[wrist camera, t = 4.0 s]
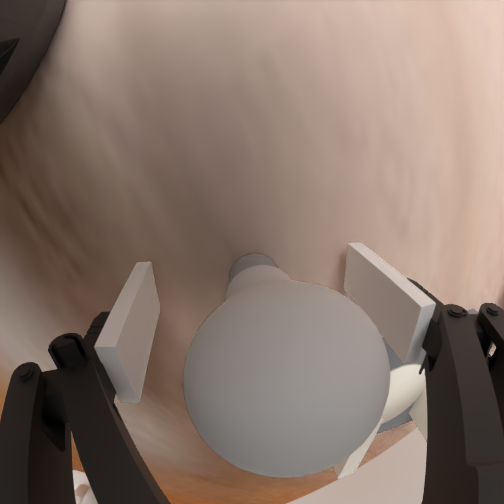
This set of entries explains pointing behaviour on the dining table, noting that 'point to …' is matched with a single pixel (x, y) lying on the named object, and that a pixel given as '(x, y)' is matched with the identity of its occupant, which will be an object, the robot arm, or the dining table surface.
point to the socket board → (396, 404)
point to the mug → (82, 489)
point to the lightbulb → (285, 374)
